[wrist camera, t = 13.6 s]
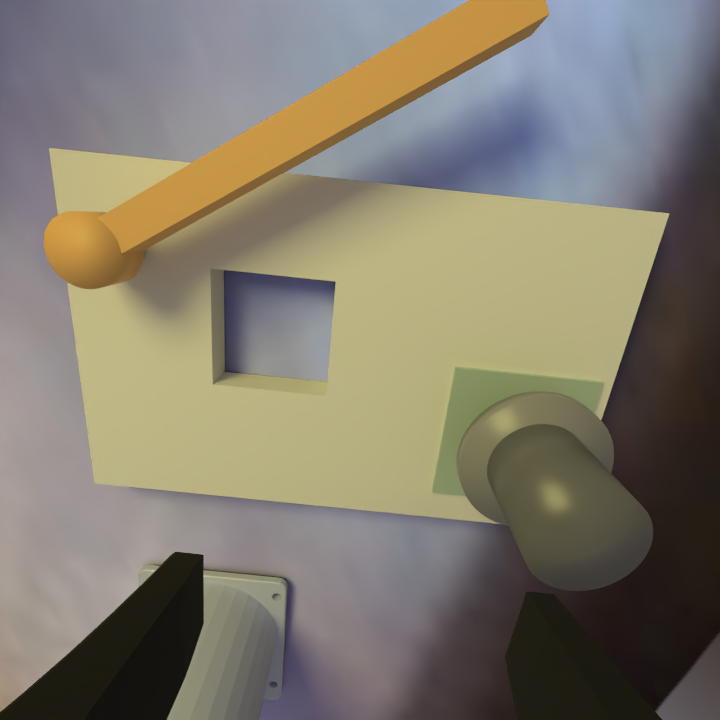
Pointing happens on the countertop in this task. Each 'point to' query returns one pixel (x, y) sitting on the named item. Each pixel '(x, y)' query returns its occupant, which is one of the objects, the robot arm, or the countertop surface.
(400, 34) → the countertop surface
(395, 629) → the countertop surface
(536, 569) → the plug
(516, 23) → the tan wooden rod
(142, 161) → the board
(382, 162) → the countertop surface
